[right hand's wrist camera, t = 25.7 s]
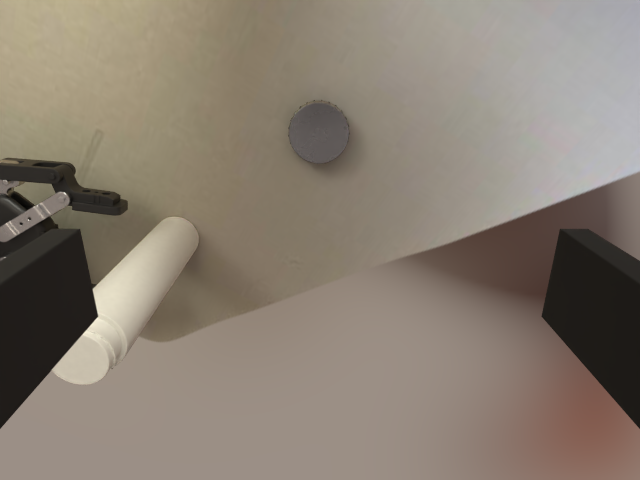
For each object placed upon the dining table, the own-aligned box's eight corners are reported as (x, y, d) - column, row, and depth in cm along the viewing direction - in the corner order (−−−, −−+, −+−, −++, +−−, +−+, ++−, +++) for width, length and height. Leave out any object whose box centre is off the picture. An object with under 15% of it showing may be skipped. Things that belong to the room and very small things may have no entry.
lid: (293, 162, 42) (291, 167, 40) (286, 102, 40) (284, 104, 38) (350, 157, 42) (351, 161, 40) (345, 97, 40) (347, 98, 38)
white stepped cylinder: (195, 215, 44) (105, 326, 25) (202, 256, 46) (121, 388, 27) (151, 217, 44) (29, 328, 26) (159, 258, 46) (49, 391, 27)
